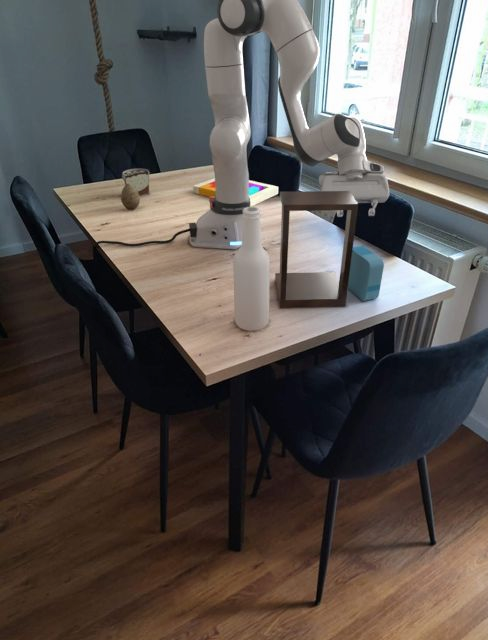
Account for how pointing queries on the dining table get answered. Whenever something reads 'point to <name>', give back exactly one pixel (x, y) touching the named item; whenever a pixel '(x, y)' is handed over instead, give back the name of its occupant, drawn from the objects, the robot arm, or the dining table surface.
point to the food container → (137, 180)
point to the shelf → (316, 285)
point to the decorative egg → (130, 197)
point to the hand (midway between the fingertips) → (356, 215)
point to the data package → (365, 273)
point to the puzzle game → (256, 190)
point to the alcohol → (251, 275)
